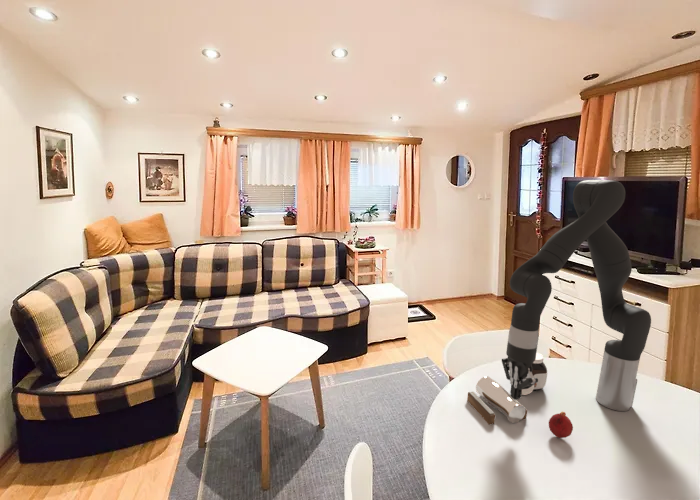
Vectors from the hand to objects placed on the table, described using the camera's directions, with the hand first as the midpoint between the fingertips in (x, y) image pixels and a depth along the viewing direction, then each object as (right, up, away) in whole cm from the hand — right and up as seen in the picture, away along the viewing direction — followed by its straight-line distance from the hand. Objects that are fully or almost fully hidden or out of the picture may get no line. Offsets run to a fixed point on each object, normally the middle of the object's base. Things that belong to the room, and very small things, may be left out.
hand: (515, 397), depth 109 cm
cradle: (-2, -7, +9) cm, 12 cm away
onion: (+11, -10, -3) cm, 15 cm away
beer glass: (+2, -6, +2) cm, 6 cm away
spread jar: (+13, -5, +22) cm, 26 cm away
